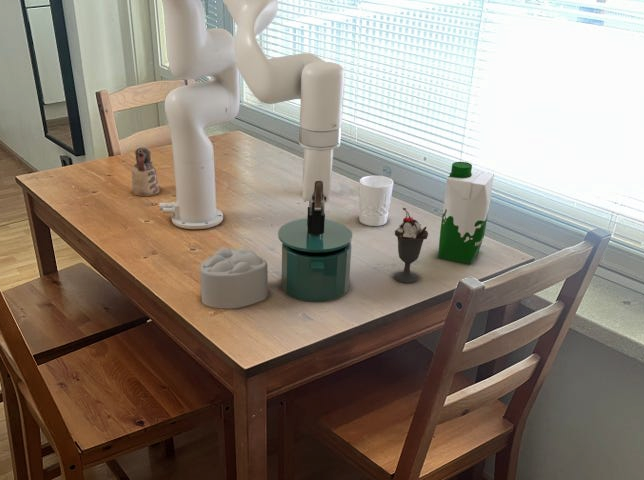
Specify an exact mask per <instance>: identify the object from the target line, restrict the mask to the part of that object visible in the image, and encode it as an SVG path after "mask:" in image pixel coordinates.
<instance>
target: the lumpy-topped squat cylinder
mask: <svg viewBox="0 0 644 480" xmlns="http://www.w3.org/2000/svg"><path fill="white" fill-rule="evenodd" d="M268 274H269V273H268V261H267V260H266V259H265V258H263V257H261V256H259V255H258V254H257V253H256V252H255V251H254V250H252V249H248V248H244V247H243V248H237V249H232V250H231V249H230V248H228V247H222V248H219V249H218V250H217V251H216V252H214V254H213V255H210V256H209V257H208V258H207V259H205V260H204V261H202V263H201V265H200V267H199V275H200V292H201V293H200V294H201V302H202V304H203V305H205V306H207V307H209V308H214V309H225V310H226V309H239V308H243V307H247V306H250V305H251V306H252V305H254V304H257V303H259V302H262V301H264V300H266V298H268V294H269V290H268V289H269V288H268V287H269V285H268V284H269V283H268V282H269V279H268V277H269V276H268Z"/></svg>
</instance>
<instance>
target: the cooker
mask: <svg viewBox="0 0 644 480" xmlns="http://www.w3.org/2000/svg"><path fill="white" fill-rule="evenodd" d="M351 259H352V241H351V242H350V243H349V244H348V245H347V246H345V247H343V248H341V249H338V250H335V251H329V252H306V251H300V250H296V249H293V248H290V247H288V246H286V245H285V244H283V243H282V242H281V289H282V290H283V292H284V293H285V294H286V295H288V296H289V297H291V298H293V299H296V300H299V301H302V302H303V301H305V302H309V303H310V302H312V303H321V302H324V303H325V302H329V301H333V300H336V299H339V298H341V297H343V296H344V295H345V294H346V293H347V292H348V290H349V287H350V277H351V276H350V275H351V274H350V273H351V261H352V260H351Z"/></svg>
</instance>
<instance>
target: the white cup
mask: <svg viewBox="0 0 644 480" xmlns="http://www.w3.org/2000/svg"><path fill="white" fill-rule="evenodd" d="M393 189H394V180H393V179H392V178H390V177H387V176H385V175H384V176H383V175H367V176H363V177H361V178H360V179H359V193H358V195H359V197H358V210H359V219H358V220H359V222H360V223H361V224H363V225H365V226H369V227H380V226H383V225H385V224H387V222H388V217H389V212H390V209H391V201H392V196H393Z"/></svg>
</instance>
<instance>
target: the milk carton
mask: <svg viewBox="0 0 644 480" xmlns="http://www.w3.org/2000/svg"><path fill="white" fill-rule="evenodd" d="M494 175H495V174H494V173H491V172H484V171H482V170H474V169H473V164H472V163H470V162H466V161H455V162H453V163H452V164H451V170H450V172H449V176H447V178H446V183H445V195H444V200H443V209H442V216H441V221H440V222H441V223H440V230H439V241H438V255H437V258H438V259H442V260H446V261H452V262H457V263H461V264H465V265H471V264H472V263H473V261H474V260H475V258H476V257H477V256H478V254H479V252H480V249H481V246H482V244H483V240H484V237H485V234H486V233H485V232H486V228H487V221H488V216H489V211H490V205H491V198H492V192H493V185H494V184H493V183H494Z"/></svg>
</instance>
